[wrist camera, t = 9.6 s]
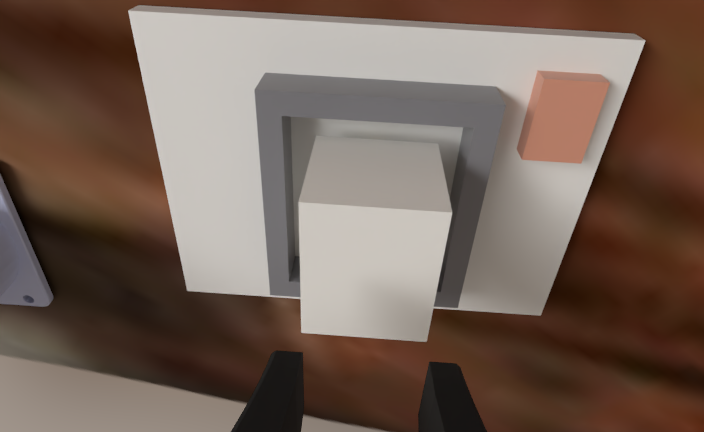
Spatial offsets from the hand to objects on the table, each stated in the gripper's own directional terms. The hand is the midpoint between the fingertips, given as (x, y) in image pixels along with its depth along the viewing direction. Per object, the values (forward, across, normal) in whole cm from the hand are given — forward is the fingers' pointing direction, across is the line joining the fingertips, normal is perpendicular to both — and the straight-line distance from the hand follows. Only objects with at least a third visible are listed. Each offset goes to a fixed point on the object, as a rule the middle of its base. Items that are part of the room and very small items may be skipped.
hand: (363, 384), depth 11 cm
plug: (+9, 0, 0) cm, 9 cm away
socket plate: (+9, 0, 0) cm, 9 cm away
